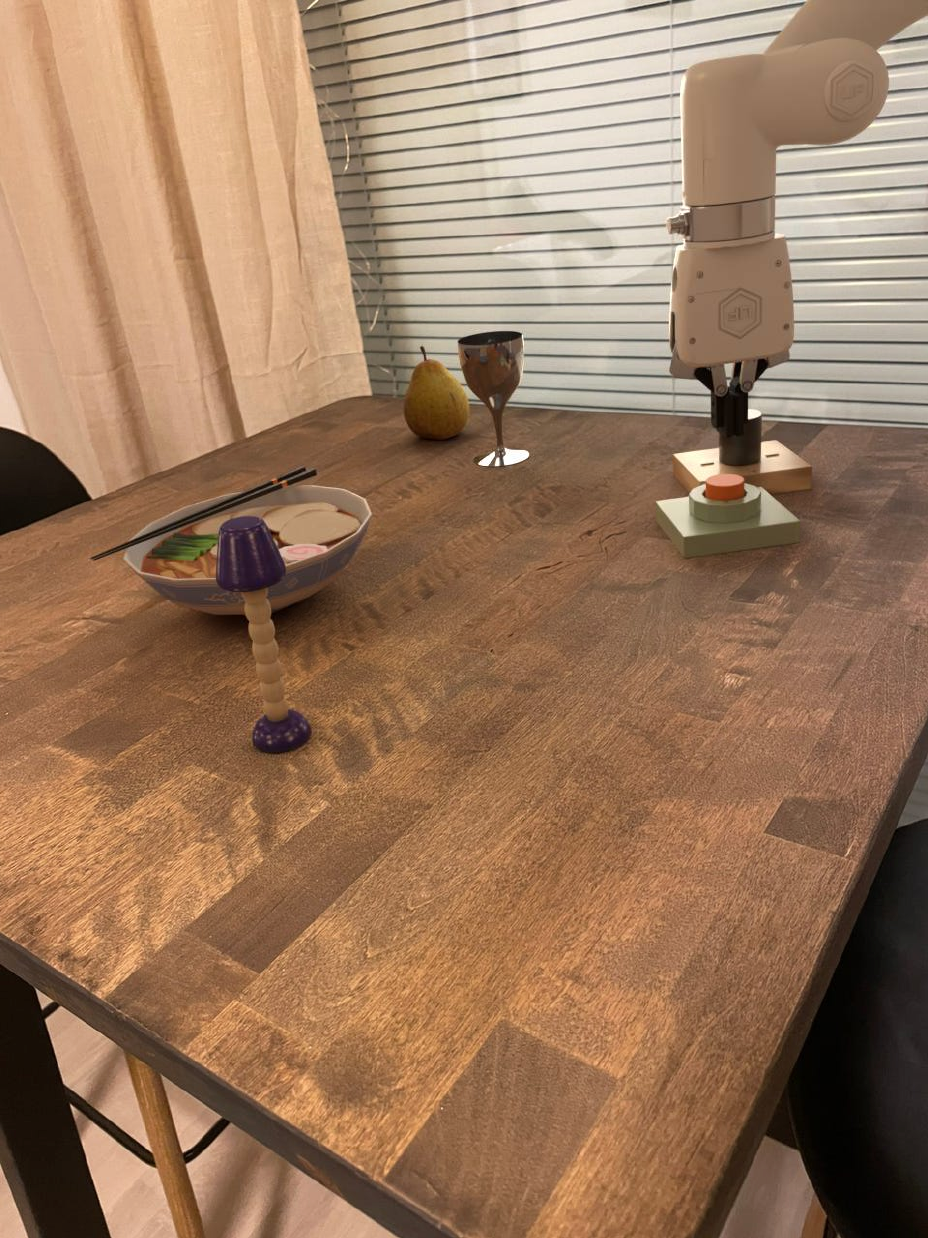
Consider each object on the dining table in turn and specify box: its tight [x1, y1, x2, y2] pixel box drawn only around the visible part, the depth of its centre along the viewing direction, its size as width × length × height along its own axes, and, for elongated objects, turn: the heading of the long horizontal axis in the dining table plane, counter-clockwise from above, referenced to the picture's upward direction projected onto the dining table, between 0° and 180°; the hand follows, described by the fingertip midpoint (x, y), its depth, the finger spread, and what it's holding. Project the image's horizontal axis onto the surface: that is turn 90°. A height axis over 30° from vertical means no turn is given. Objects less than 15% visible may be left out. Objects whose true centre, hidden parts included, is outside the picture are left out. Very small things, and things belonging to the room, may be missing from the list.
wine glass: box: [457, 330, 530, 468], centre depth 120 cm, size 8×8×15 cm
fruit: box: [403, 345, 470, 441], centre depth 133 cm, size 9×9×12 cm
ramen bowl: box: [89, 465, 373, 616], centre depth 91 cm, size 25×23×8 cm
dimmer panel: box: [672, 439, 813, 495], centre depth 106 cm, size 12×10×3 cm
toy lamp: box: [216, 516, 312, 754], centre depth 67 cm, size 5×5×17 cm
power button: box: [706, 474, 745, 501], centre depth 93 cm, size 4×4×2 cm
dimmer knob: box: [718, 408, 763, 466], centre depth 104 cm, size 4×4×5 cm
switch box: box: [654, 483, 801, 559], centre depth 94 cm, size 11×10×4 cm
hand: (729, 432), depth 90 cm, fingers closed
